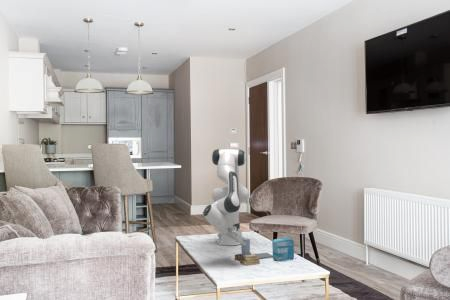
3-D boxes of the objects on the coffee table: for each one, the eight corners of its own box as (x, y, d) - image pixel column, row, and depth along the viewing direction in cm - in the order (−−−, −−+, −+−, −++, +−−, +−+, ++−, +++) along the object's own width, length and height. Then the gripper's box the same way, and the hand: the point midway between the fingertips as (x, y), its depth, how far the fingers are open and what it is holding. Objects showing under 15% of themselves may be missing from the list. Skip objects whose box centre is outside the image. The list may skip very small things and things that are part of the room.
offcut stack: (242, 263, 260) (242, 255, 260) (256, 261, 263) (256, 254, 263) (245, 265, 256) (245, 257, 255) (260, 263, 259) (259, 255, 259)
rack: (234, 259, 269) (234, 254, 269) (250, 257, 273) (250, 252, 273) (241, 263, 260) (240, 258, 260) (257, 261, 264) (256, 256, 264)
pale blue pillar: (241, 259, 269) (241, 237, 268) (246, 259, 270) (245, 237, 269) (245, 262, 263) (244, 239, 263) (250, 261, 264) (249, 239, 264)
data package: (276, 261, 263) (275, 240, 263) (272, 259, 267) (272, 239, 267) (294, 259, 268) (293, 238, 267) (290, 257, 272) (289, 237, 272)
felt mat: (250, 255, 278) (250, 254, 278) (266, 253, 282) (266, 252, 282) (257, 259, 269) (257, 258, 269) (274, 257, 273) (274, 256, 273)
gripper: (235, 226, 253) (252, 242, 257) (223, 220, 272) (238, 235, 276) (228, 235, 252) (245, 250, 255) (216, 228, 271) (231, 243, 274)
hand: (241, 242), depth 266 cm, fingers open, 8 cm apart
